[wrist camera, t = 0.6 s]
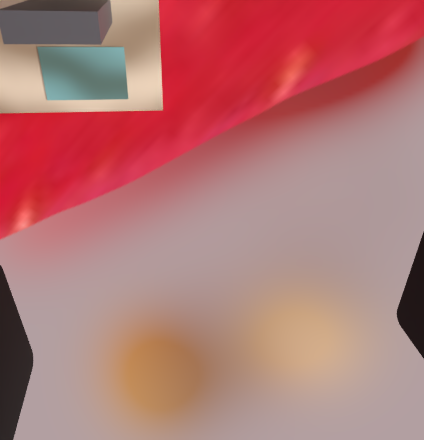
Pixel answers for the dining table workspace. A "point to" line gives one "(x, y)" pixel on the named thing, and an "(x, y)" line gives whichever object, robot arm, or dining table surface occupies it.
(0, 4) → the board
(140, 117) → the dining table surface
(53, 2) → the domino
